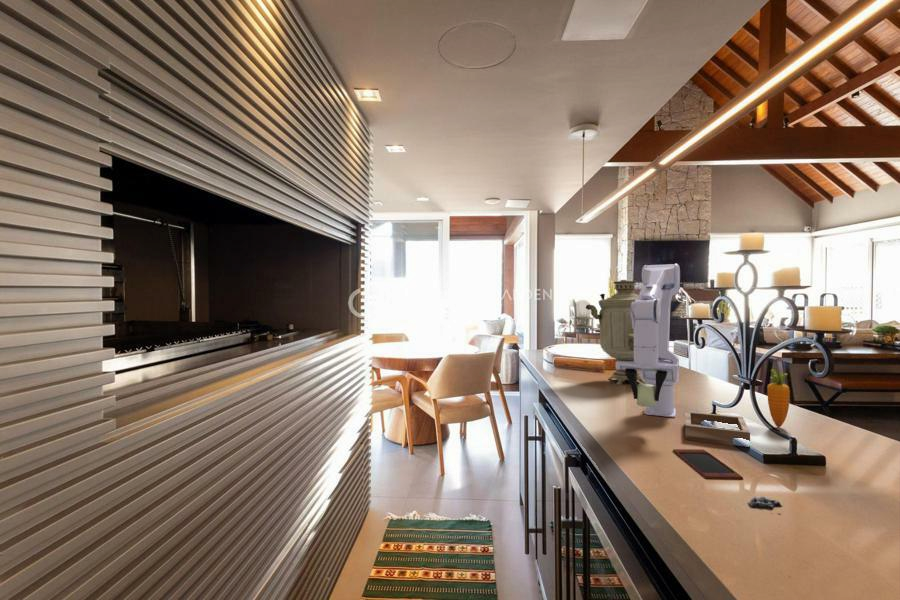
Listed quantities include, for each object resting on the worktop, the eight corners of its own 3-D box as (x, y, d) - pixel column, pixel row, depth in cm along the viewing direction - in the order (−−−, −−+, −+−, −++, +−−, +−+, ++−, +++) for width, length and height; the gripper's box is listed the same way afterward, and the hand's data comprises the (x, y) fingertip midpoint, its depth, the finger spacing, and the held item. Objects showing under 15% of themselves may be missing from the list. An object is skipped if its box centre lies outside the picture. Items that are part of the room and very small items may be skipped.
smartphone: (705, 476, 84) (671, 448, 99) (705, 481, 84) (671, 452, 99) (744, 476, 84) (704, 448, 99) (744, 481, 84) (704, 452, 99)
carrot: (794, 430, 112) (794, 372, 112) (772, 429, 113) (772, 371, 113) (784, 424, 117) (783, 368, 116) (763, 424, 118) (762, 368, 117)
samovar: (582, 387, 166) (581, 281, 165) (588, 374, 190) (588, 282, 190) (670, 393, 155) (669, 279, 154) (665, 379, 179) (664, 280, 178)
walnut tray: (685, 424, 119) (685, 411, 119) (742, 430, 113) (742, 416, 112) (685, 439, 106) (685, 425, 106) (750, 447, 100) (750, 432, 100)
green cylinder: (637, 401, 116) (637, 383, 116) (656, 403, 114) (656, 384, 114) (636, 405, 112) (635, 386, 112) (655, 407, 110) (654, 387, 110)
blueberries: (804, 518, 71) (804, 507, 71) (763, 520, 69) (764, 508, 69) (765, 500, 77) (766, 489, 77) (727, 501, 76) (728, 490, 76)
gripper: (613, 346, 112) (614, 399, 113) (677, 349, 106) (677, 405, 106) (617, 343, 119) (617, 393, 119) (677, 346, 112) (678, 399, 112)
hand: (646, 399), depth 113 cm, fingers closed on green cylinder, 4 cm apart
